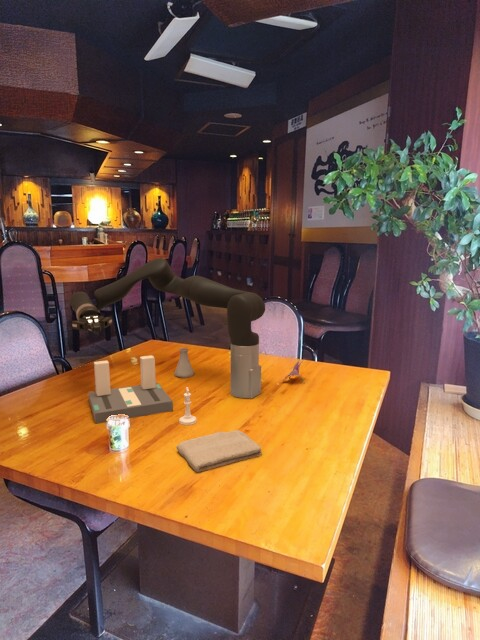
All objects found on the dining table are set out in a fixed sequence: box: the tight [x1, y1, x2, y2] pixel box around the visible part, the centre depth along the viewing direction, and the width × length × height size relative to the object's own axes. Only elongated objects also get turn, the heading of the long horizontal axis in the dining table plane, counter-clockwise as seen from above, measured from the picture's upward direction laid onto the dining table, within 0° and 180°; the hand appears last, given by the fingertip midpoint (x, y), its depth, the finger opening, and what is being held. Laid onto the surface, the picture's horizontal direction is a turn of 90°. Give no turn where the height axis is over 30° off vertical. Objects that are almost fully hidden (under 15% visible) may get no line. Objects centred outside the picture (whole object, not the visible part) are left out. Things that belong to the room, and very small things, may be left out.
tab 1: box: [93, 360, 111, 396], centre depth 132 cm, size 3×4×10 cm
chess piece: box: [178, 386, 197, 426], centre depth 120 cm, size 5×5×10 cm
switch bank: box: [87, 382, 174, 424], centre depth 132 cm, size 18×22×3 cm
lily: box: [281, 360, 306, 384], centre depth 154 cm, size 11×11×9 cm
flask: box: [173, 348, 195, 379], centre depth 160 cm, size 7×7×10 cm
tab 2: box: [139, 355, 157, 390], centre depth 138 cm, size 3×4×10 cm
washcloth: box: [176, 429, 262, 473], centre depth 104 cm, size 12×18×3 cm, turn 120°
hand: (96, 329), depth 133 cm, fingers closed
